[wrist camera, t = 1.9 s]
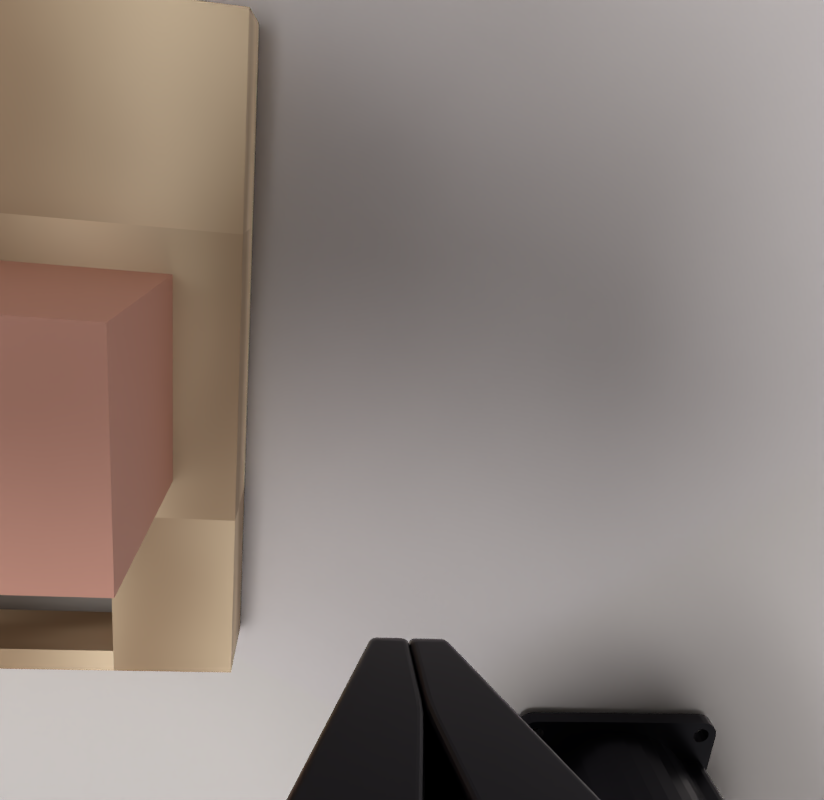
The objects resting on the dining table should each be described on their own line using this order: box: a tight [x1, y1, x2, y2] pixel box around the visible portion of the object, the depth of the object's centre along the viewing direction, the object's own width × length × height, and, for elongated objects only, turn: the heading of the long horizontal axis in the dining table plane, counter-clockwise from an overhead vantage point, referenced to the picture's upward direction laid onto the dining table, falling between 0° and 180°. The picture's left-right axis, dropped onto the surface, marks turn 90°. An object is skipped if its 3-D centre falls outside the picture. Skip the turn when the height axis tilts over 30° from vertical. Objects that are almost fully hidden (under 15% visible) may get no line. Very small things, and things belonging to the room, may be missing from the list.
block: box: [0, 260, 173, 598], centre depth 14 cm, size 5×5×5 cm
